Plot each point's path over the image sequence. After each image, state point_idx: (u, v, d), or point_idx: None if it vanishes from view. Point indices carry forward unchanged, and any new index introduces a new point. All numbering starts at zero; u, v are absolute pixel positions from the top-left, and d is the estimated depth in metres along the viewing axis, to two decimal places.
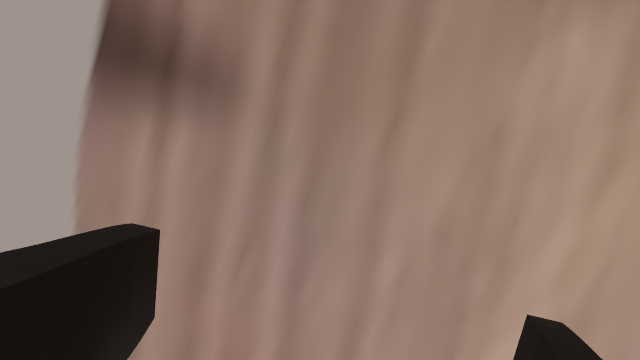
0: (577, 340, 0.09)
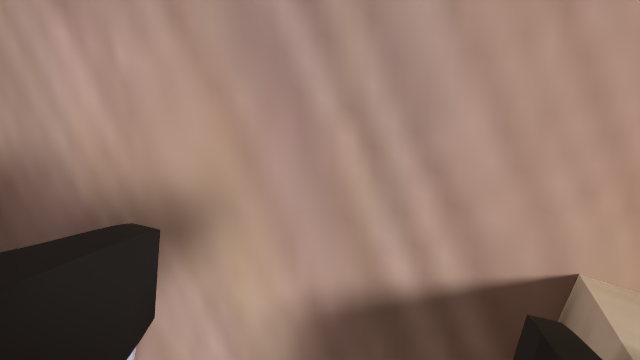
0: (577, 340, 0.09)
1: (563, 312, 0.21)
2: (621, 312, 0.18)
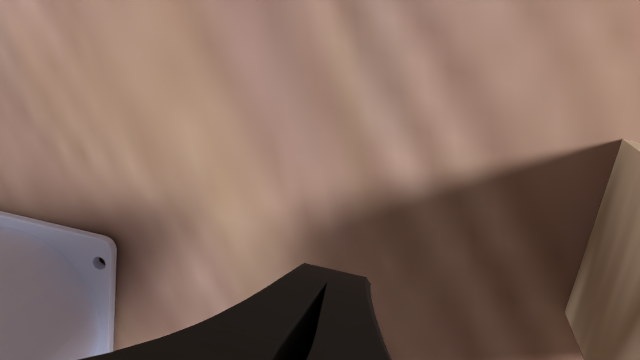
0: (360, 289, 0.09)
1: (607, 190, 0.17)
2: None
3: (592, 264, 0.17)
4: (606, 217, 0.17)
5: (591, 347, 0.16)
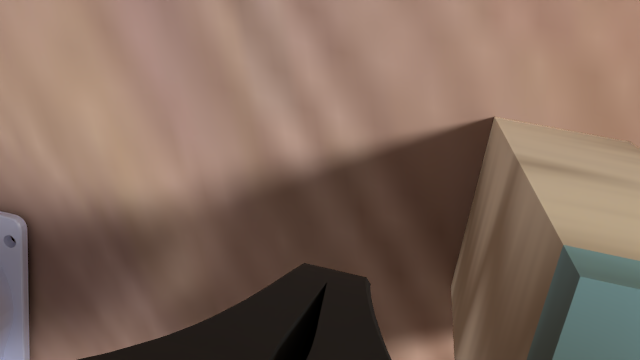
0: (360, 289, 0.09)
1: (482, 166, 0.18)
2: (532, 138, 0.15)
3: (467, 238, 0.18)
4: (478, 192, 0.17)
5: (457, 316, 0.16)
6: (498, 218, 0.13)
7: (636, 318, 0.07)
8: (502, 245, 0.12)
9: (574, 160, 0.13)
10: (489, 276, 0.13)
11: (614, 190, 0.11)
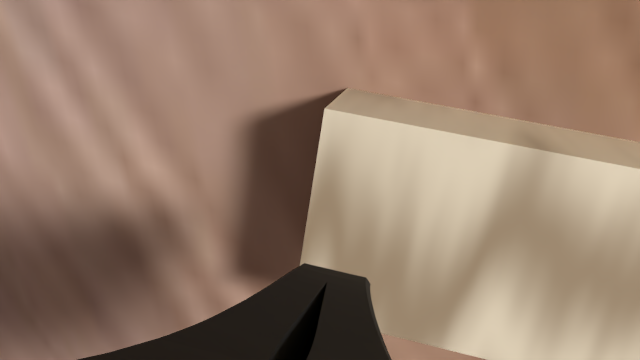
0: (360, 289, 0.09)
1: (321, 168, 0.15)
2: (417, 120, 0.15)
3: (337, 249, 0.15)
4: (339, 196, 0.15)
5: (393, 319, 0.16)
6: (504, 205, 0.14)
7: None
8: (552, 221, 0.14)
9: (484, 128, 0.15)
10: (524, 253, 0.14)
11: (564, 141, 0.15)
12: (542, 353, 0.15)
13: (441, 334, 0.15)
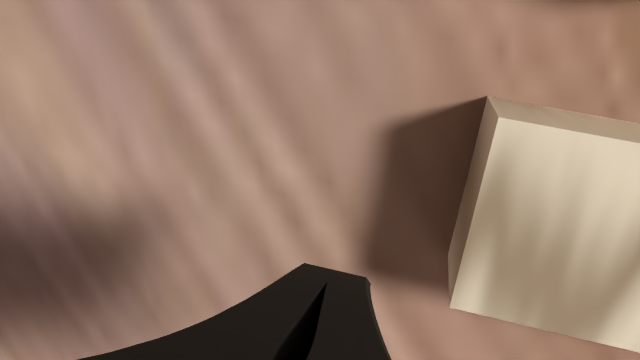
0: (360, 289, 0.09)
1: (490, 173, 0.16)
2: (581, 128, 0.16)
3: (499, 249, 0.16)
4: (506, 200, 0.16)
5: (549, 314, 0.17)
6: None
7: None
8: None
9: None
10: None
11: None
12: None
13: (596, 329, 0.16)
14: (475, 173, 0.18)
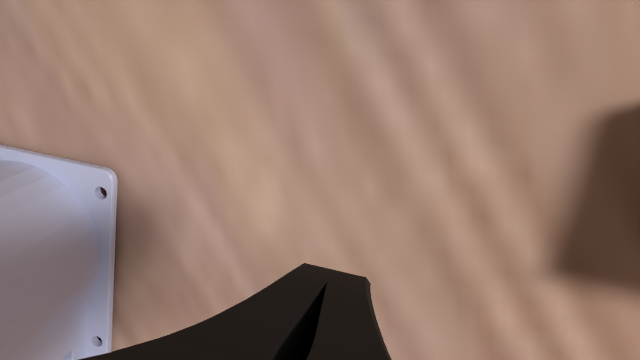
0: (361, 289, 0.09)
1: None
2: None
3: None
4: None
5: None
6: None
7: None
8: None
9: None
10: None
11: None
12: None
13: None
14: None
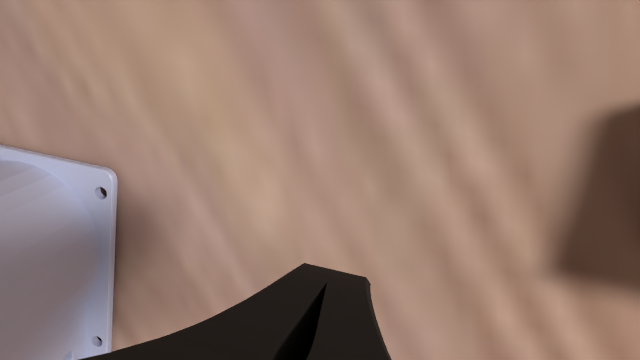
0: (361, 289, 0.09)
1: None
2: None
3: None
4: None
5: None
6: None
7: None
8: None
9: None
10: None
11: None
12: None
13: None
14: None
